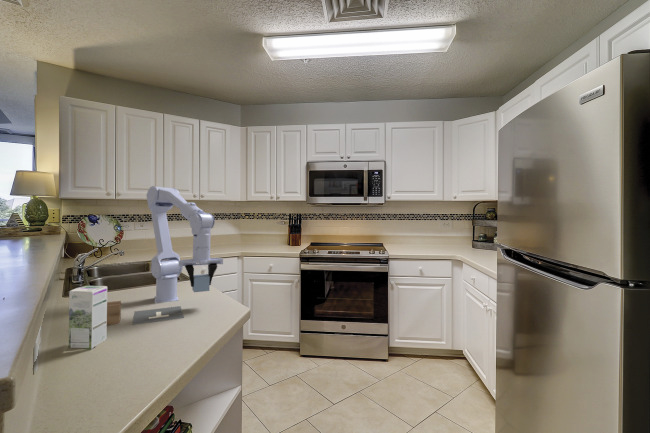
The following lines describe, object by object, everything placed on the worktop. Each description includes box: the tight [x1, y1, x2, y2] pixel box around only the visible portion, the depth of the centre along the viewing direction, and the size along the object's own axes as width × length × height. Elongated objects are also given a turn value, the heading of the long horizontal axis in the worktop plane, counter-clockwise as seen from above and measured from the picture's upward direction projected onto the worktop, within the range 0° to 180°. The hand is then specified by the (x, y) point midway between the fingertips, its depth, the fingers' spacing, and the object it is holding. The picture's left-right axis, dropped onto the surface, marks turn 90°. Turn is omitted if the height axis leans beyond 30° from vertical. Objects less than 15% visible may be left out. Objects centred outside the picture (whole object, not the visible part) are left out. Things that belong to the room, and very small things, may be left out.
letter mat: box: [132, 305, 185, 326], centre depth 99 cm, size 14×14×1 cm
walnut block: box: [107, 300, 122, 326], centre depth 92 cm, size 5×5×6 cm
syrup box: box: [68, 285, 108, 350], centre depth 77 cm, size 6×6×14 cm
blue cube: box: [191, 273, 211, 293], centre depth 108 cm, size 5×5×5 cm
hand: (200, 285), depth 108 cm, fingers closed on blue cube, 5 cm apart
